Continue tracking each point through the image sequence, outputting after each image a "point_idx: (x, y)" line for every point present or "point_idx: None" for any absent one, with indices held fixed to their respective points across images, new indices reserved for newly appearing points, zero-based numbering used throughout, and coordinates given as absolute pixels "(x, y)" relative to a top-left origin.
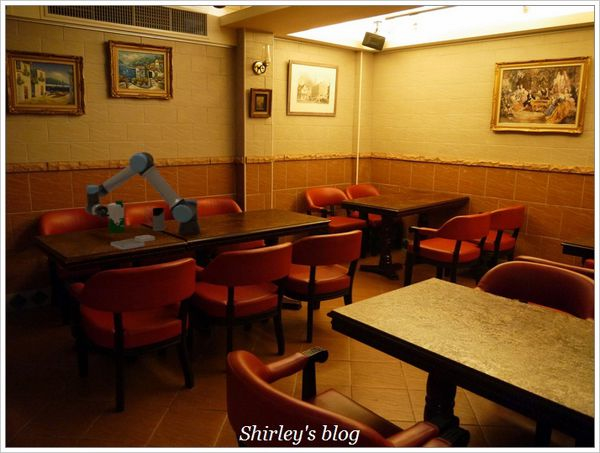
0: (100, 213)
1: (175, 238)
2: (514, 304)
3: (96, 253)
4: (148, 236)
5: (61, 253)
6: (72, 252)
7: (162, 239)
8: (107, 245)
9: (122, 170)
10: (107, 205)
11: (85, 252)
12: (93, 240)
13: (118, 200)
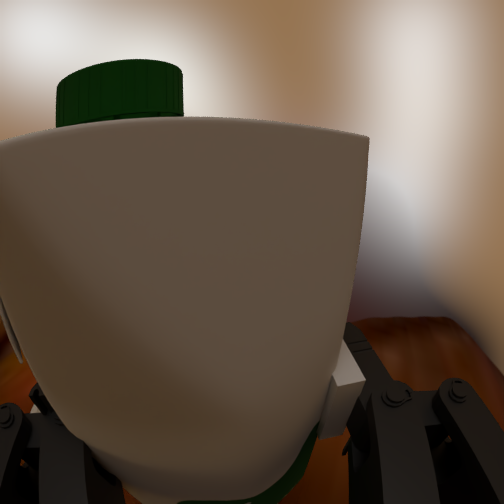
0: (487, 423)
1: (2, 361)
2: None
3: (381, 341)
4: None
5: (500, 374)
6: (471, 378)
7: (28, 385)
8: (318, 457)
9: None
10: (365, 149)
11: (425, 365)
12: None
13: (81, 71)
